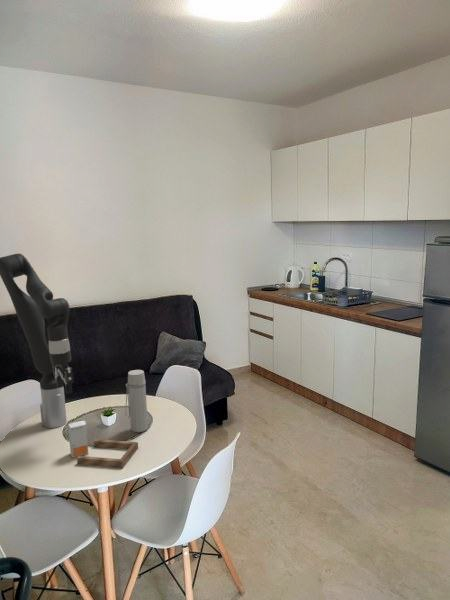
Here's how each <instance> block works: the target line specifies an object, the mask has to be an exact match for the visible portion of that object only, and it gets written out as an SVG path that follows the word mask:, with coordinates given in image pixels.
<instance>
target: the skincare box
mask: <svg viewBox="0 0 450 600" xmlns="http://www.w3.org/2000/svg"><path fill="white" fill-rule="evenodd" d="M67 426H68V438H69V448H70V449H69V450H70V451H69V452H70V455H71V458H72V459H73V458H77V457H78V456H86V455H89V442H88V441H89V439H88V429H87V428H88V427H87V423H86V420H85V419H84V420H82V421H75V422H71V423H68V425H67Z"/></svg>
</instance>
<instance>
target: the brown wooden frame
mask: <svg viewBox="0 0 450 600" xmlns="http://www.w3.org/2000/svg"><path fill="white" fill-rule="evenodd" d="M93 447H94V448H101V447H102V448H103V449H104V448H105V449H115V450H126V451H125V453H124V454H123V455H122V457H120V458H111V457H99V456H88V455H87V456H86V455H81V456H77V457H76V465H80V466H90V467H91V466H93V467H105V468H116V469H124V467H125V466H126V465H127V464H128V463H129V461H130V460H131V458H132V457H133V456H134V455H135V454H136V452H137V450H138V449H139V443H138V441H124V440H113V439H100V438H99V439H98V438H95V439H94V440H93ZM102 448H101V449H102Z"/></svg>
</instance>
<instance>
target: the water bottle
mask: <svg viewBox="0 0 450 600" xmlns="http://www.w3.org/2000/svg"><path fill="white" fill-rule="evenodd" d="M146 383H147V381H146V376H145V371H144V370H142V369H134V370H129V371H128V373H127V383H126V384H125V388H126V394H125V395H126V396H125V408H127V407H128V414H129V415H128V414H127V409H125V413H124V414H125V417H126V419H130V430H131V432H133V433H137V432H138V433H142V432H145V431H147V429H148V428H149V424H148V421H149V420H148V407H147V389H146ZM127 404H128V406H127Z"/></svg>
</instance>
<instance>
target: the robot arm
mask: <svg viewBox="0 0 450 600" xmlns="http://www.w3.org/2000/svg"><path fill="white" fill-rule="evenodd" d="M24 275H25V276H26V282H25V289H26V292H24V290H22V289H21V288H20V287H19V286H18V284H17V283H16V281H15V279H16V278H17V277H18V278H19V277H21V276H22V277H23V276H24ZM0 278H1V280H2V282H3V284H4V287H5V289H6V290H7V293H8V294H9V296H10V297H9V298H10V299H11V303H12V305H13V308H14V311H15V313H16V315H17V319H18V321H19V324H20V326H21V328H22V330H23V333H24V336H25V339H26V341H27V343H28V347H29V349H30V353H31V358H32V360H33V364H34V368H35V369H36V370H37V371H38V372H39V373H40V374H42V377H41V379H40V381H39V387H40V389H39V390H40V397H41V404H40V407H39V409H40V418H41V426H42V427H45V428H46V429H54V428H59V427H62V426H65V425H66V424H67V421H68V419H67V409H66V400H65V399H66V398H65V393H66V394H71V393H73V383H74V382H75V379H74V373H73V371H74V370H73V367H71V366H69V365H68V364H69V363H70V362H71V361H72V352H71V344H70V340H69V333H68V321H69V317H70V304H69V302H68V300H67V299H65V298H63V297H59V298H54V293H53V292H52V291H51V289H50V288H49V287H48V286H47V285H46V284H45V283H44V282H43V281H42V280H41V278H40V277H39V276H38V274H37V272H36V271H35V269H34V268H33V266H32V264H31V263H30V262H29V261H28V258H26V257H25V255H23V254H22V253H13V254H9V255H6V256H1V257H0ZM14 278H15V279H14ZM45 319H46V320H52V319H56V320H55V321H54V322H53V323H51V324H49V325H48V326H47V329H46V327H45V325H46V323H45ZM45 329H46V330H47V338H48V343H47V340H46V333H45V332H46V330H45ZM64 386H65V388H64Z"/></svg>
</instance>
